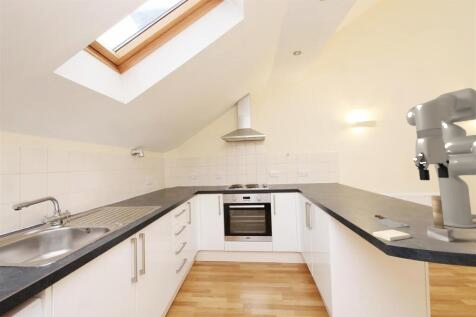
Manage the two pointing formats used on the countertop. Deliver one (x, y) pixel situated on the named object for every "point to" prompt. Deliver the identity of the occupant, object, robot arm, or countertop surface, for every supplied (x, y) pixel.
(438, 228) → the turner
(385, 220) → the kitchen cleaver
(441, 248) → the countertop surface
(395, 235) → the tile
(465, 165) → the robot arm
